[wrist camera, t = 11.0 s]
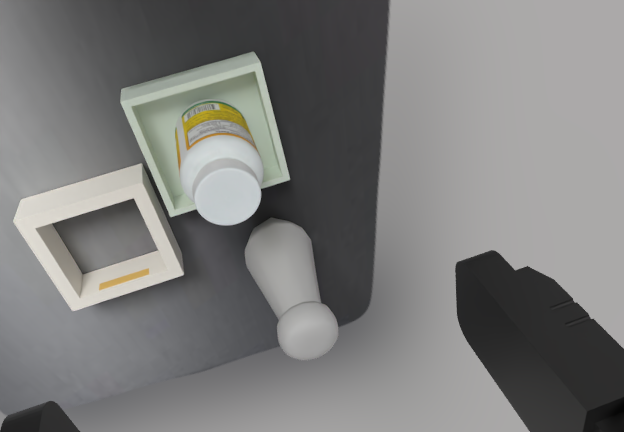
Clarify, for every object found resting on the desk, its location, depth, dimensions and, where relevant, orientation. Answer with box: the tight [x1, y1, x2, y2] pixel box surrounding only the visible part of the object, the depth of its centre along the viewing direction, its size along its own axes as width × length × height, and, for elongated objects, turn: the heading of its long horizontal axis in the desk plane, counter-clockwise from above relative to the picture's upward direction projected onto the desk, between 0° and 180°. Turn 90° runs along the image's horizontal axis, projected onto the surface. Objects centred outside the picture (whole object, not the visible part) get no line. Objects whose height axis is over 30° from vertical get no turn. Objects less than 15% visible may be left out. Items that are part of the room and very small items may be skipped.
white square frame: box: [13, 163, 184, 311], centre depth 40 cm, size 9×9×3 cm
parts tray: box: [120, 52, 290, 217], centre depth 38 cm, size 10×10×2 cm
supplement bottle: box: [175, 99, 264, 225], centre depth 35 cm, size 5×5×10 cm
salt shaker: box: [245, 218, 339, 360], centre depth 41 cm, size 6×6×13 cm
